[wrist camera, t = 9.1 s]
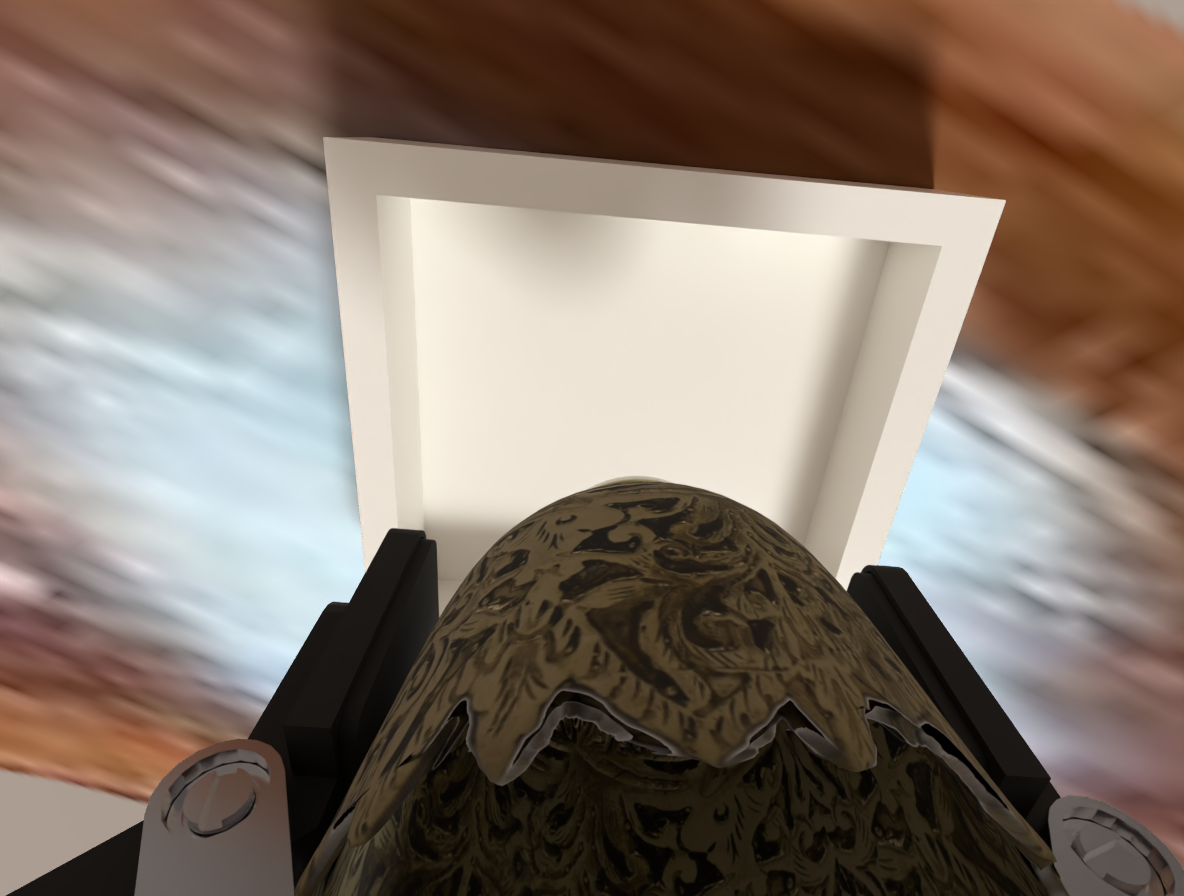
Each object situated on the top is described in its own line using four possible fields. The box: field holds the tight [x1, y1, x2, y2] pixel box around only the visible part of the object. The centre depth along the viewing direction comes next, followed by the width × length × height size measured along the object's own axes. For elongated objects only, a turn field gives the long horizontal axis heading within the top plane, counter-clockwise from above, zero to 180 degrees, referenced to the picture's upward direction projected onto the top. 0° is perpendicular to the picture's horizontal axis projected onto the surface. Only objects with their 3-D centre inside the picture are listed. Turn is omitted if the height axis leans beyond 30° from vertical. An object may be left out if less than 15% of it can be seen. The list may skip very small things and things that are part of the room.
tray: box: [323, 137, 1006, 617], centre depth 17 cm, size 14×14×3 cm
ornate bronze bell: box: [294, 476, 1069, 896], centre depth 9 cm, size 8×7×8 cm
